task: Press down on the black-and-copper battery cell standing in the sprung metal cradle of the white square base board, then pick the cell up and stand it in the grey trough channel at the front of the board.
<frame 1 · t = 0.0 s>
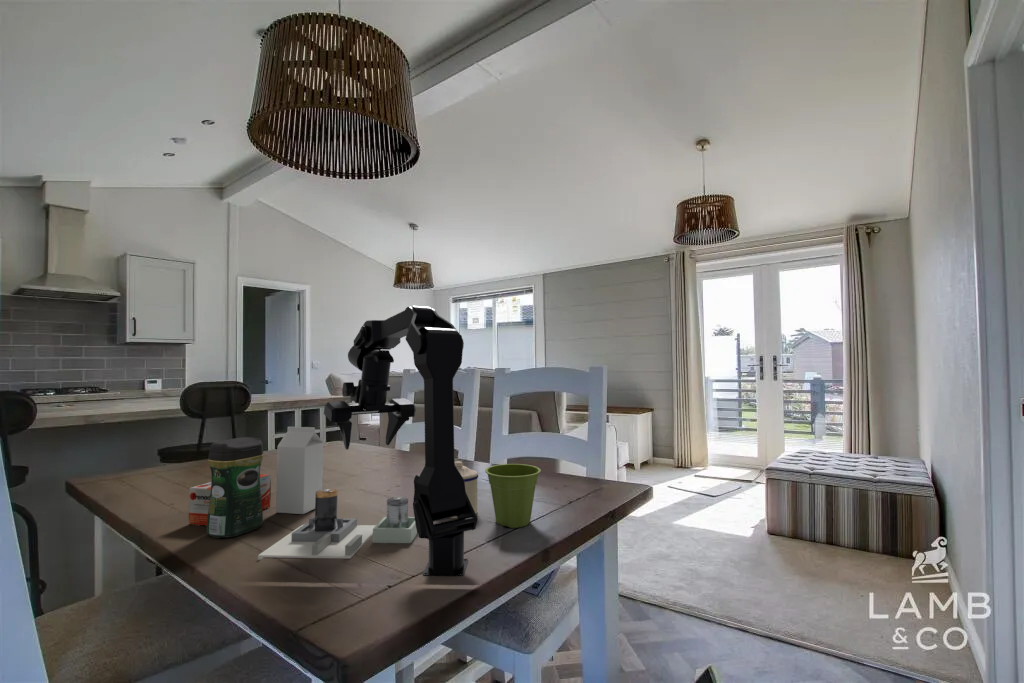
hand: (367, 446, 106), 15 cm above the table, tool pointing down, fingers open, 9 cm apart
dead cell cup: (397, 538, 93), on the table
plant pot: (513, 524, 102), on the table
milk carton: (299, 510, 112), on the table
cell: (325, 527, 93), point 2 cm above the table, touching cradle
cradle: (325, 525, 93), point 2 cm above the table, slide at -0.7 cm, touching cell
coffee jar: (234, 532, 97), on the table
teacup with lid: (452, 514, 108), on the table
white square base board: (324, 543, 90), on the table
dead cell: (397, 535, 93), resting on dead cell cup
medicine box: (231, 517, 107), on the table
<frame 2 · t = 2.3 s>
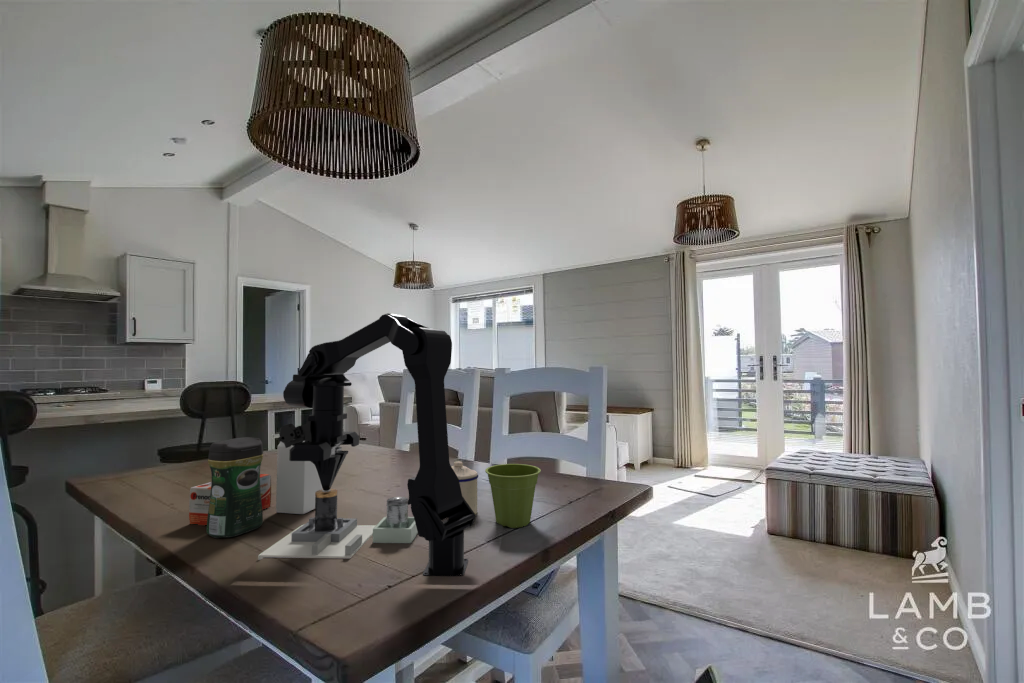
hand: (326, 489, 94), 9 cm above the table, tool pointing down, fingers closed, pressing on cell
cell: (325, 527, 93), point 2 cm above the table, touching cradle, gripper
everything else where it was.
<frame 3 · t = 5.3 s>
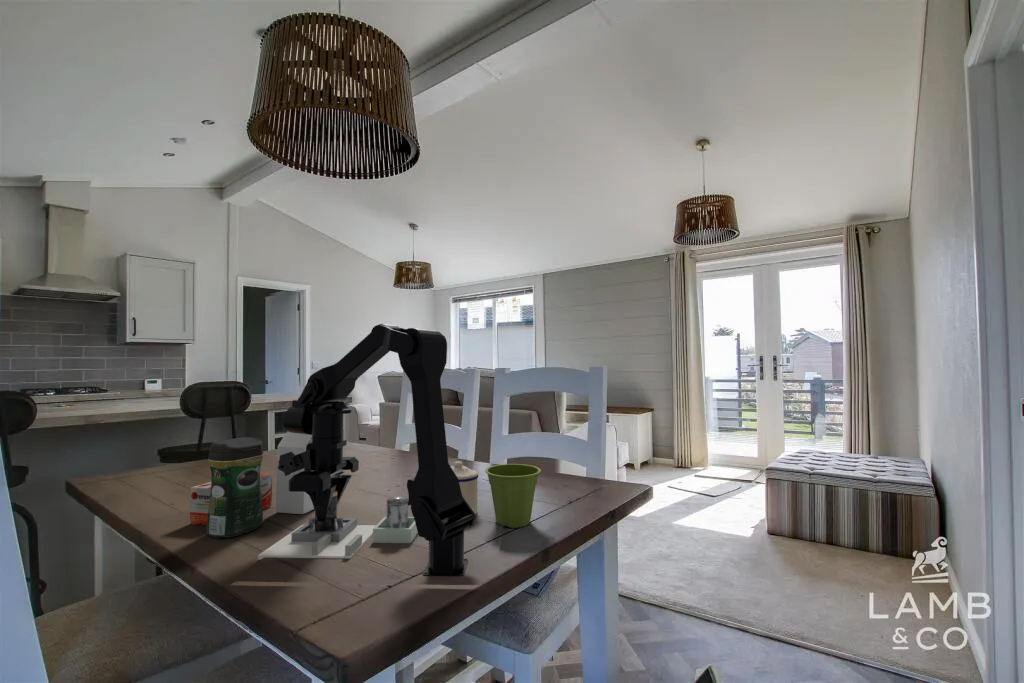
hand: (326, 517, 93), 4 cm above the table, tool pointing down, fingers closed on cell, 4 cm apart
cell: (325, 527, 93), point 2 cm above the table, touching cradle, gripper
everything else where it was.
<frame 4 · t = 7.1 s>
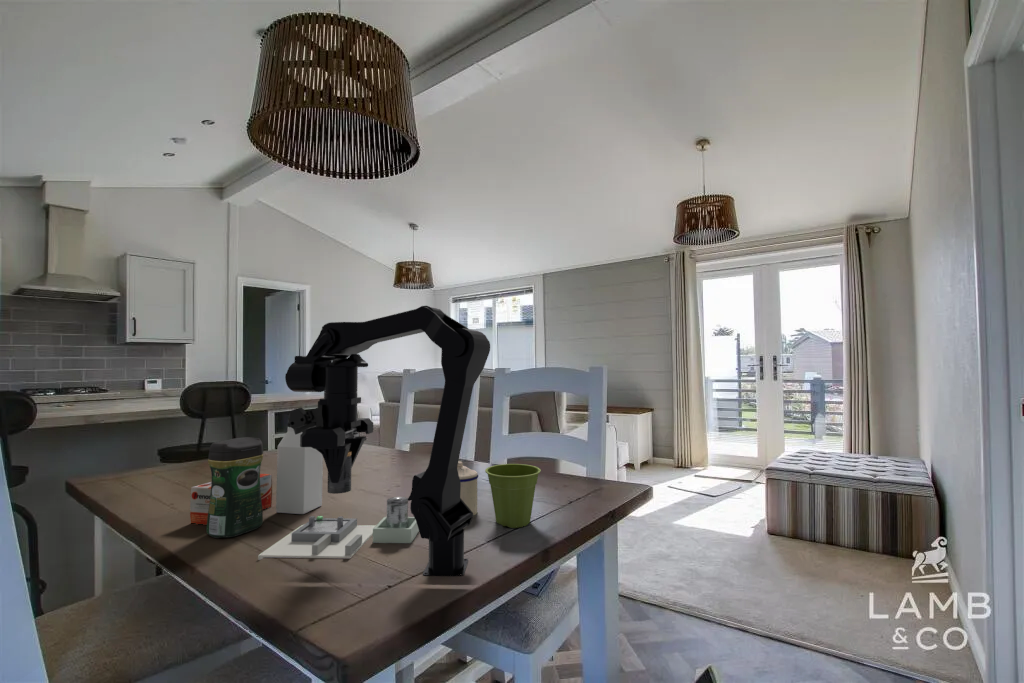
hand: (339, 479, 86), 13 cm above the table, tool pointing down, fingers closed on cell, 4 cm apart
cell: (339, 490, 86), point 11 cm above the table, touching gripper
cradle: (325, 523, 93), point 3 cm above the table, slide at -0.4 cm
everything else where it was.
when the fingers open (3 cm above the table, at t = 9.2 s): cell stays where it is, resting on white square base board.
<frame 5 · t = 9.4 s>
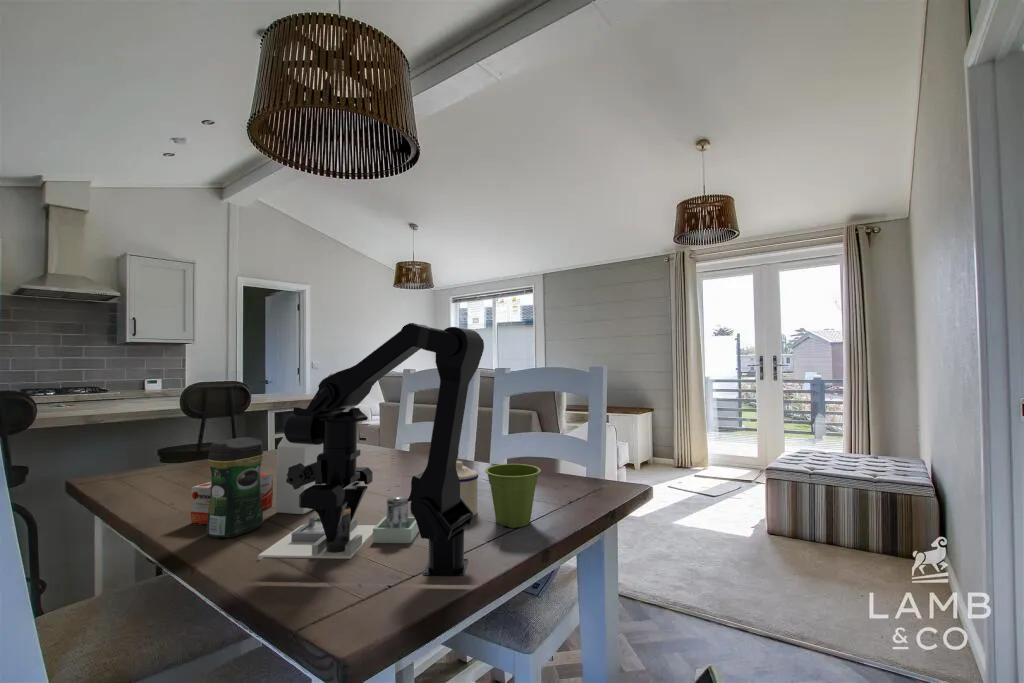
hand: (338, 534, 86), 3 cm above the table, tool pointing down, fingers open, 6 cm apart
cell: (338, 548, 85), point 1 cm above the table, touching white square base board
everything else where it was.
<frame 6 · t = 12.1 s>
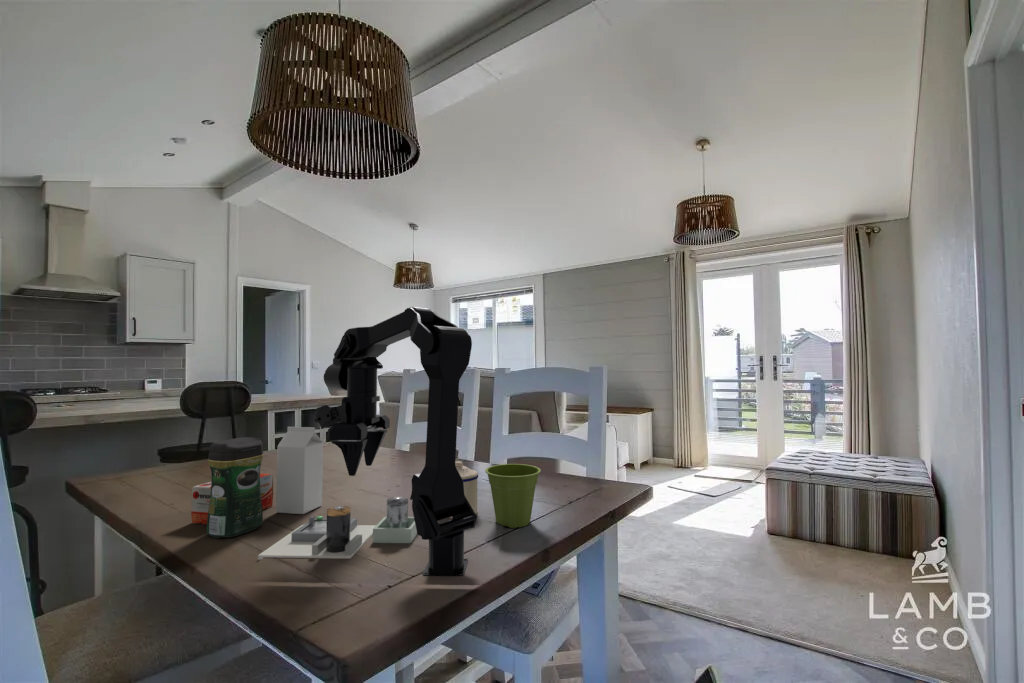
hand: (360, 470, 96), 12 cm above the table, tool pointing down, fingers open, 9 cm apart
nothing on the table moved.
at the end: cell 0.0 cm from the target spot, point 0.8 cm above the table; cell tilted 0°; the gripper is holding nothing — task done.
